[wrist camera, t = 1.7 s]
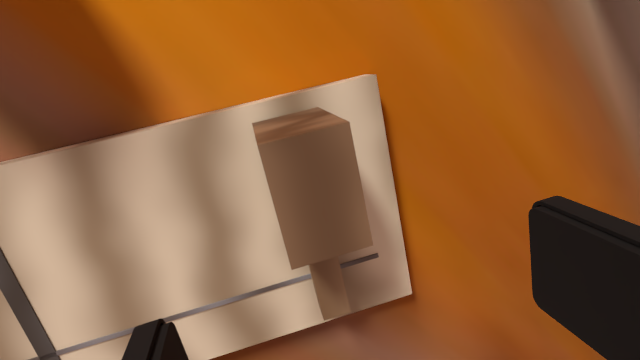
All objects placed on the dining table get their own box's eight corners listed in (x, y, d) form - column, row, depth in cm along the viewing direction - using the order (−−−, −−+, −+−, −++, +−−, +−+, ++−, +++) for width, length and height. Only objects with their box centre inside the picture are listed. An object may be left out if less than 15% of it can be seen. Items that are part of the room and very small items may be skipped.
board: (365, 74, 25) (376, 74, 23) (401, 279, 30) (412, 294, 28) (-264, 225, 21) (-317, 242, 19) (-100, 438, 26) (-128, 469, 24)
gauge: (317, 106, 23) (349, 121, 16) (357, 289, 27) (395, 361, 20) (251, 123, 22) (257, 145, 16) (302, 306, 26) (323, 385, 20)
